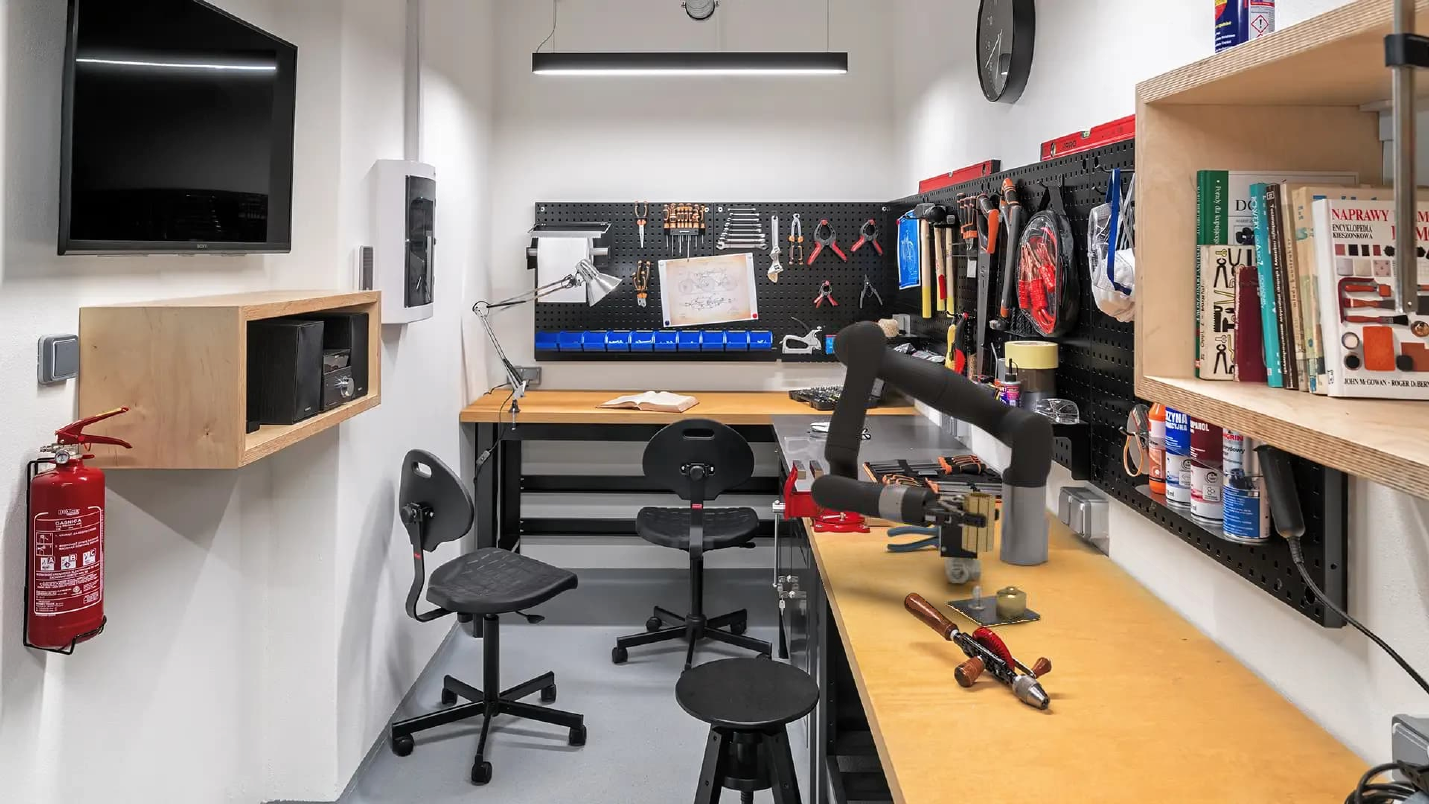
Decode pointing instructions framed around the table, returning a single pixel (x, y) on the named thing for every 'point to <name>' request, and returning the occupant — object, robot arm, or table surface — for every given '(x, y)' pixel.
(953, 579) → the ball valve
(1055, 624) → the table surface
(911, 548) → the pliers
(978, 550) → the brass grooved sleeve
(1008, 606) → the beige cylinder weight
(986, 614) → the carrier plate
